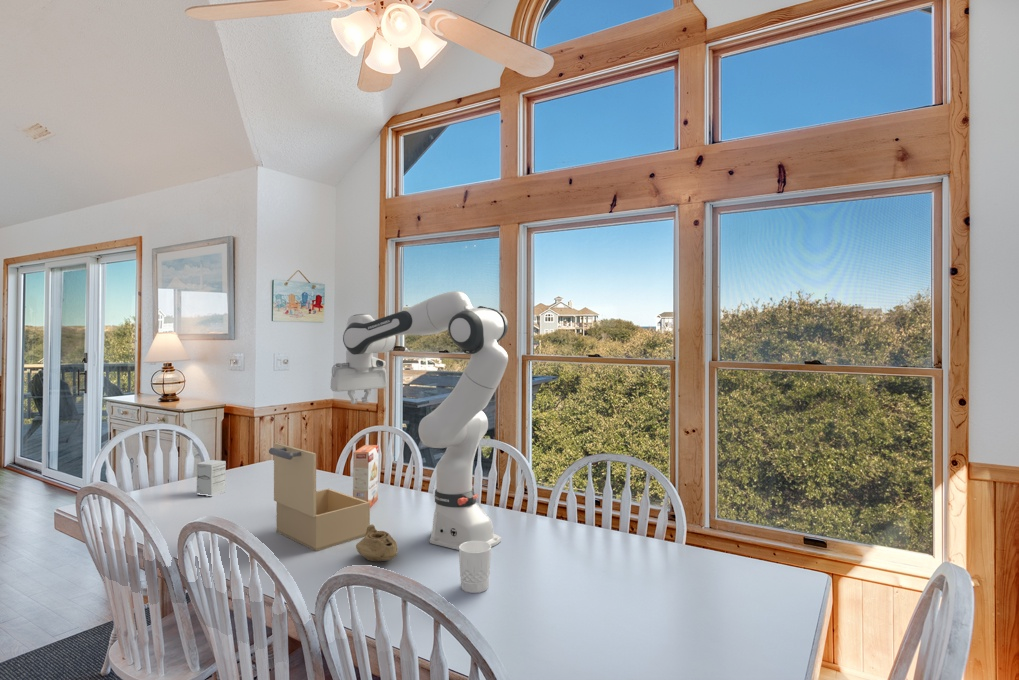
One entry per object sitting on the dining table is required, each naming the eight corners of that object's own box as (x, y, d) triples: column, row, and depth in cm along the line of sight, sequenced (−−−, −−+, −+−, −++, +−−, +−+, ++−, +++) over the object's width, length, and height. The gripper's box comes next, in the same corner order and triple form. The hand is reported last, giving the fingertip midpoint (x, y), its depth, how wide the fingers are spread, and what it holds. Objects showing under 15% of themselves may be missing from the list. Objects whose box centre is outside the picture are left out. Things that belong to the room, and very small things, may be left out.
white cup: (474, 577, 141) (474, 538, 141) (497, 586, 136) (497, 545, 136) (452, 588, 135) (452, 547, 135) (475, 597, 130) (475, 555, 130)
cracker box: (369, 511, 195) (369, 451, 195) (352, 511, 195) (352, 451, 195) (379, 499, 209) (379, 444, 209) (363, 499, 209) (363, 444, 209)
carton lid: (316, 453, 158) (298, 456, 154) (316, 516, 158) (298, 521, 154) (276, 442, 174) (259, 445, 170) (276, 500, 174) (259, 503, 170)
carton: (369, 534, 172) (369, 502, 172) (316, 551, 158) (316, 516, 158) (328, 518, 188) (328, 488, 188) (276, 531, 174) (276, 500, 174)
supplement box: (195, 495, 214) (195, 463, 214) (211, 490, 221) (211, 459, 221) (211, 497, 211) (211, 464, 211) (226, 492, 219) (226, 460, 218)
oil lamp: (380, 572, 144) (380, 541, 144) (347, 557, 154) (347, 529, 154) (413, 559, 153) (413, 530, 153) (379, 546, 162) (379, 519, 162)
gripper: (337, 363, 177) (337, 406, 177) (389, 361, 193) (389, 401, 193) (326, 363, 181) (326, 405, 181) (378, 361, 197) (378, 400, 197)
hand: (359, 403), depth 187 cm, fingers open, 3 cm apart
